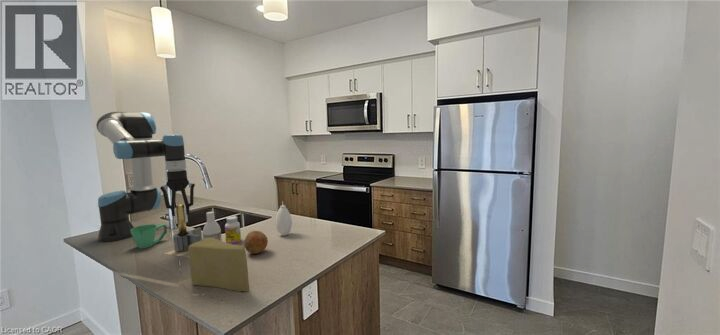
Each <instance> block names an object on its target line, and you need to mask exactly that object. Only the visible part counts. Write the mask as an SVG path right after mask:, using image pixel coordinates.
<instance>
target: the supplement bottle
mask: <svg viewBox="0 0 720 335" xmlns="http://www.w3.org/2000/svg"><path fill="white" fill-rule="evenodd" d="M240 223H241V222H239V221H238V216H234V215H233V216H228V217H226V223H225V225H224V232H225V234H224V235H225V243H229V244H233V245H236V244H238V243H240V242H241V241H242V235H241V225H240Z"/></svg>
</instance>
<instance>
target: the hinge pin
mask: <svg viewBox="0 0 720 335" xmlns="http://www.w3.org/2000/svg"><path fill="white" fill-rule="evenodd" d="M184 207H185V204H183V203H182V204H177V205H176V204H175V208H176V209H177V218H178V224H177V226H178V233H179V235H183V234H186V233H187V231H188V230H187V229H188V228H187V222H186V223H185V214H184Z"/></svg>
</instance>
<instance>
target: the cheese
mask: <svg viewBox="0 0 720 335" xmlns="http://www.w3.org/2000/svg"><path fill="white" fill-rule="evenodd" d="M188 250H189V257H188V259H189V267H190V279H191V284H192V286H203V287H213V288H220V289H224V288H225V289H224V290H228V291H229V290H230V291H234V290H235V292H241V291H244V292H243V293H246V292H248V291H250V286H249V284H250V283H249V282H250V281H249V272H248V271H249V270H248V269H249V268H248V262H247V253H246V249H245V246H241V245H238V244H229V243H226V241H223V240H222V241H220V240H217V239H215V238H212V237H210V238H207V239H204V240H203V239H202V240H201V241H199V242H196V243H193V244H191V245H189V247H188Z"/></svg>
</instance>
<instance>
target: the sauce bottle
mask: <svg viewBox="0 0 720 335" xmlns="http://www.w3.org/2000/svg"><path fill="white" fill-rule="evenodd" d="M281 204H282V205H280V206H279V209H278V210H277V212H276V216H275V228H276V231H277V232H278V234H280V236H284V237H285V236H287V235H289V233H290V232H291V231H292V228H293V227H292V226H293V220H292V216H291V213H290V211H289V209H288V208H287V207H286V205H285V204H284V201H283V200H282V202H281Z"/></svg>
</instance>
